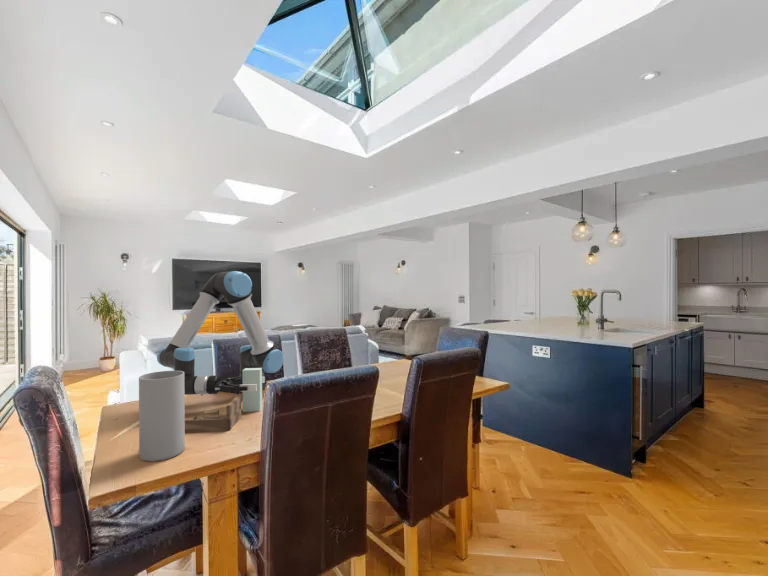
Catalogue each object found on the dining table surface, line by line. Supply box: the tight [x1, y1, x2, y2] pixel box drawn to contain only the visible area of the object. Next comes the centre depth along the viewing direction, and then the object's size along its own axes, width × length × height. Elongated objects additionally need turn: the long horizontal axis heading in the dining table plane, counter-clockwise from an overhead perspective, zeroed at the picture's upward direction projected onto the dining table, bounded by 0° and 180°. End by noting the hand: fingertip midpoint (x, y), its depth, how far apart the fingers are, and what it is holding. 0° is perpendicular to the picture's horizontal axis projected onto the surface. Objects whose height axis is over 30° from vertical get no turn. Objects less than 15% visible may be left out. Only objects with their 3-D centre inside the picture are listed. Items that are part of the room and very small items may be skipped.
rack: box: [185, 394, 242, 433], centre depth 142 cm, size 14×18×10 cm
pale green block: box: [242, 368, 263, 413], centre depth 159 cm, size 4×7×18 cm, turn 95°
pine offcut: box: [203, 408, 221, 417], centre depth 146 cm, size 4×5×2 cm
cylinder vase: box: [138, 370, 186, 462], centre depth 120 cm, size 12×12×25 cm
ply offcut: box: [201, 413, 223, 419], centre depth 146 cm, size 4×6×2 cm, turn 95°
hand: (260, 383), depth 159 cm, fingers open, 13 cm apart
